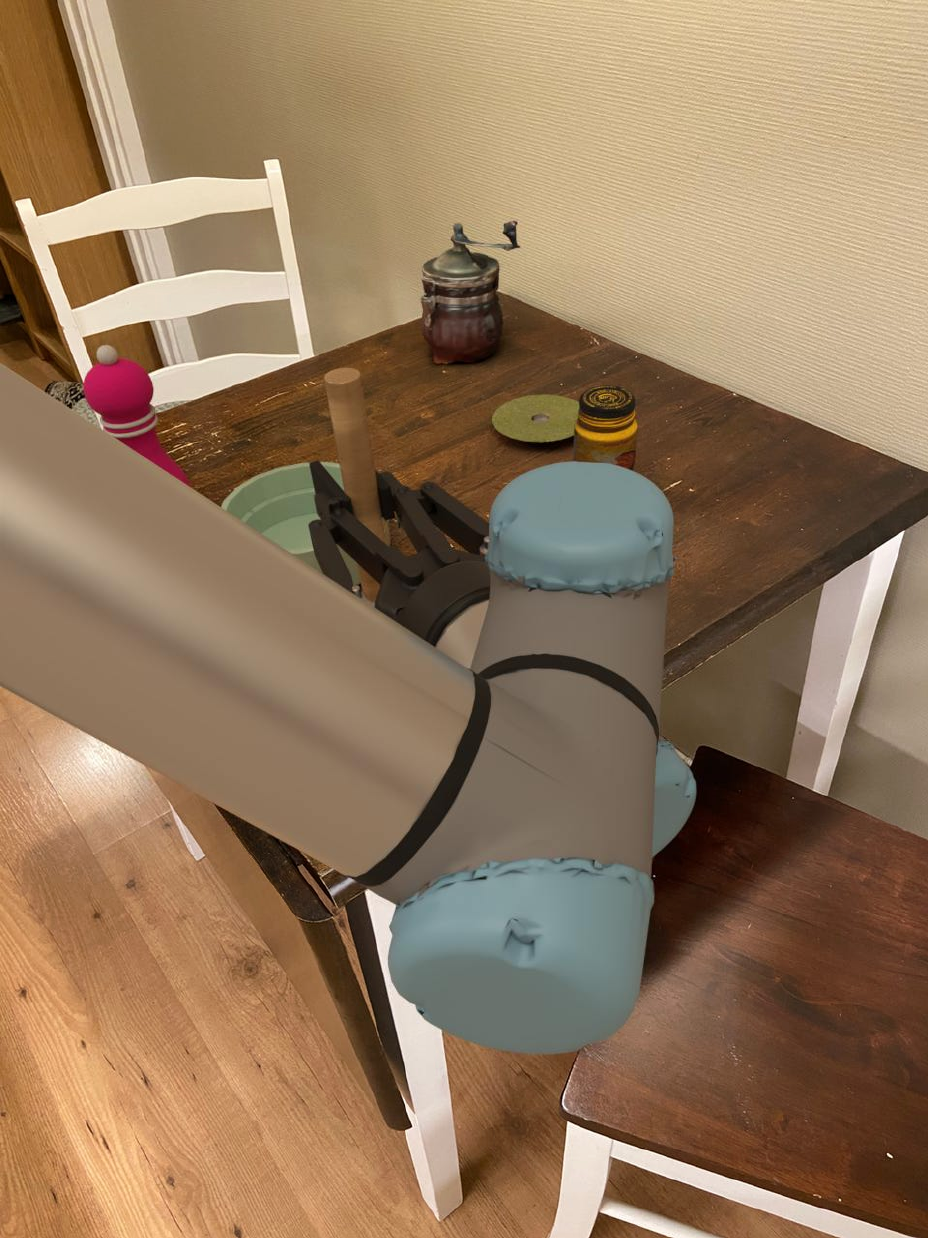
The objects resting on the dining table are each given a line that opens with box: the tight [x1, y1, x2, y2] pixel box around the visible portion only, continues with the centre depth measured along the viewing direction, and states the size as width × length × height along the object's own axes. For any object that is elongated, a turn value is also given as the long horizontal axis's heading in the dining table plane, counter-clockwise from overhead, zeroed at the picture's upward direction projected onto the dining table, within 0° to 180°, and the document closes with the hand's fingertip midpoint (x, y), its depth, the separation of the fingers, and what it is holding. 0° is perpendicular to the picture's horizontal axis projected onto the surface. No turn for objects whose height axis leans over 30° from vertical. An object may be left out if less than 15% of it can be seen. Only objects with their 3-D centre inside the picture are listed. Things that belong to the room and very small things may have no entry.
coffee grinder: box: [420, 220, 521, 365], centre depth 113 cm, size 13×15×18 cm
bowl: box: [220, 461, 392, 586], centre depth 84 cm, size 15×15×6 cm
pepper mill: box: [83, 344, 193, 489], centre depth 84 cm, size 7×7×20 cm
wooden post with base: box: [323, 367, 386, 601], centre depth 65 cm, size 6×6×22 cm
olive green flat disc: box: [491, 393, 579, 443], centre depth 101 cm, size 11×11×2 cm
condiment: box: [573, 384, 639, 472], centre depth 86 cm, size 7×8×12 cm
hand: (335, 471), depth 68 cm, fingers closed on wooden post with base, 2 cm apart
